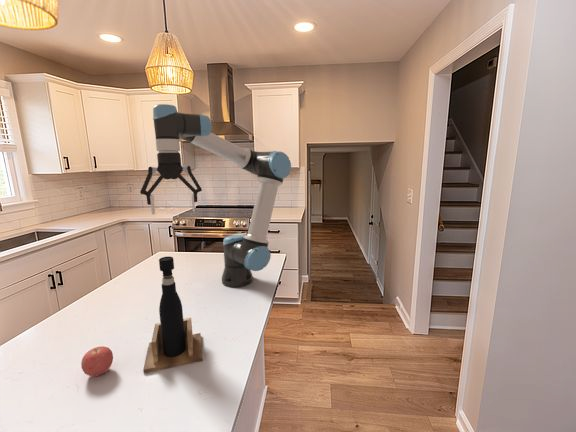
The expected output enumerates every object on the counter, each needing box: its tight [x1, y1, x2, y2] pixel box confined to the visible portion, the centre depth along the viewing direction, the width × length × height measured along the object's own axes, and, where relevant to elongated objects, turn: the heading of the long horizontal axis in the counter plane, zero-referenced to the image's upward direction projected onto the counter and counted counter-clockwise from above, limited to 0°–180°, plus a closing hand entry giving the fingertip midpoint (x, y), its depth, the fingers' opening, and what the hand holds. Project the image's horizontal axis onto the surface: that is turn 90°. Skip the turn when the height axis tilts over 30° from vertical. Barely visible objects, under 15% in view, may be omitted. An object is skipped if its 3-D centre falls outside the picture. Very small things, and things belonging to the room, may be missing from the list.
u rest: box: [142, 317, 203, 374], centre depth 90 cm, size 16×13×8 cm
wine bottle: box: [158, 256, 186, 357], centre depth 87 cm, size 6×6×30 cm
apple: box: [80, 345, 114, 377], centre depth 82 cm, size 7×7×8 cm
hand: (174, 212), depth 104 cm, fingers open, 13 cm apart
